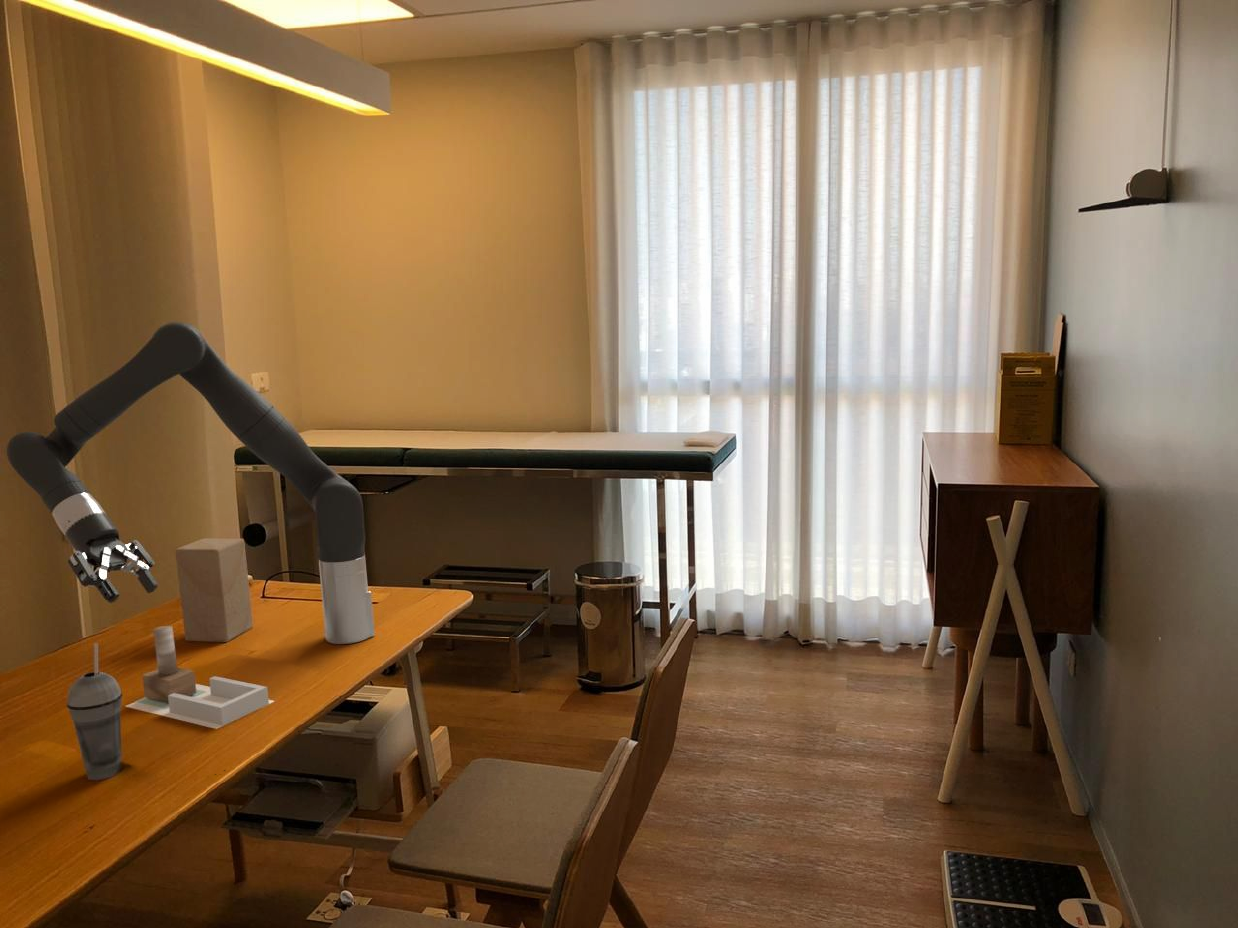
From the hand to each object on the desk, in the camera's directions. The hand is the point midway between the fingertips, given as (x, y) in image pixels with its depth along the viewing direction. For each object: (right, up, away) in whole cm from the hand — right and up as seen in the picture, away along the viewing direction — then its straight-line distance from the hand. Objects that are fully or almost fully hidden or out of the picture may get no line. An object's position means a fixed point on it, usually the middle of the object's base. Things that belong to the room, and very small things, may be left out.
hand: (134, 594), depth 172 cm
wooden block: (0, -13, +36) cm, 38 cm away
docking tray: (+15, -19, -6) cm, 25 cm away
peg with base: (+8, -17, -3) cm, 19 cm away
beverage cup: (+9, -23, -27) cm, 37 cm away
